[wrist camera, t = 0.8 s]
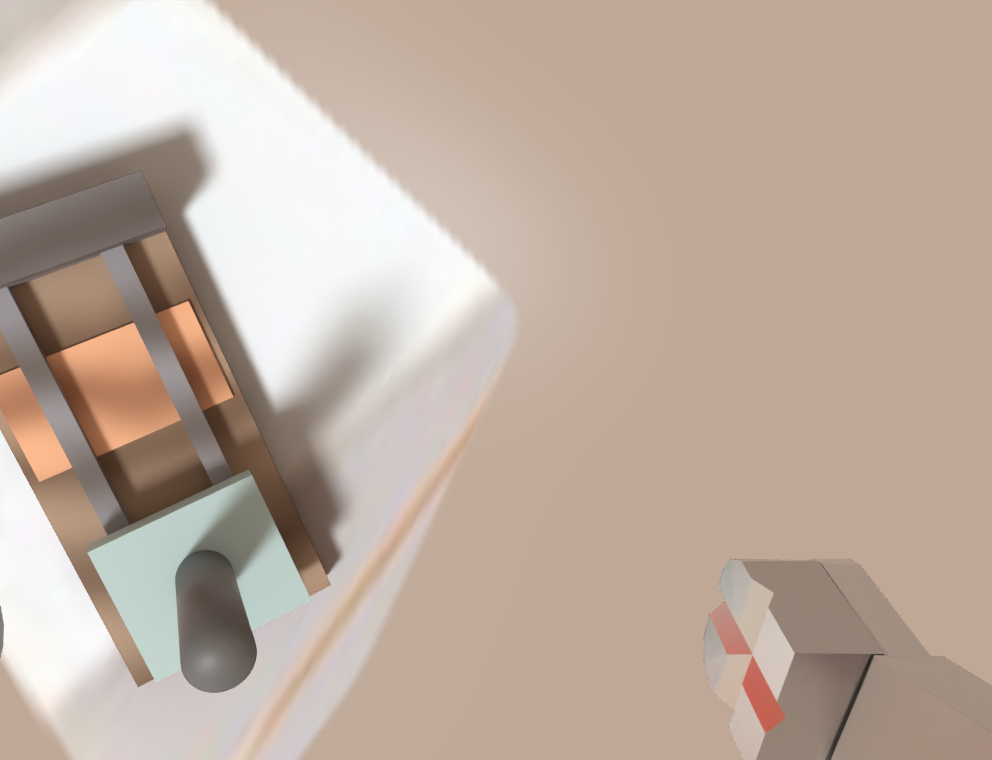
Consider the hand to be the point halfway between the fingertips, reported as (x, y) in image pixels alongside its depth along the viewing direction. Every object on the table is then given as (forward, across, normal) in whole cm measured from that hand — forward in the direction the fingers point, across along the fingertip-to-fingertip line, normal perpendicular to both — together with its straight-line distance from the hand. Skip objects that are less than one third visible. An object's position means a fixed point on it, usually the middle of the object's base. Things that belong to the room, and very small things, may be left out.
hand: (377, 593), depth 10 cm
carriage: (+32, +9, +26) cm, 42 cm away
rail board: (+37, +13, +20) cm, 44 cm away
